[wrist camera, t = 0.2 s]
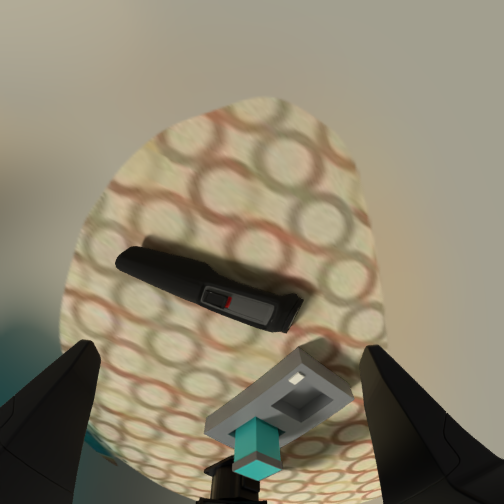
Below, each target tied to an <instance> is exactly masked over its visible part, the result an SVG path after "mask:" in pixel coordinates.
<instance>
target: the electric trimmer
mask: <svg viewBox="0 0 504 504" xmlns="http://www.w3.org/2000/svg"><path fill="white" fill-rule="evenodd" d="M115 265H116V268H117V269H119V270H120V271H122V272H125V273H127V274H129V275H131V276H133V277H135V278H138V279H140V280H142V281H144V282H146V283H149V284H151V285H153V286H155V287H158V288H160V289H162V290H164V291H167V292H169V293H171V294H173V295H176V296H178V297H180V298H183V299H185V300H188V301H190V302H193V303H196V304H198V305H200V306H202V307H204V308H207V309H209V310H211V311H214V312H216V313H219V314H221V315H224V316H226V317H229V318H232V319H234V320H237V321H239V322H242V323H245V324H247V325H250V326H253V327H256V328H258V329H262V330H265V331H269V332H272V333H273V332H281V331H282V332H283V333H287V332H288V330H289V329H290V327H291V324H292V322H293V320H294V318H295V316H296V314H297V313H298V311H299V309H300V307H301V305H302V303H303V301H304V299H301V298H299V299H298V295H297V294H294V293H292V294H288V295H283V296H281V295H276V294H272V293H268V292H265V291H262V290H259V289H256V288H253V287H250V286H247V285H244V284H241V283H238V282H235V281H233V280H231V279H228V278H226V277H224V276H221V275H219V274H218V273H217V272H215V271H214V270H213V269H212V268H211V267H210V266H209V265H208V264H206V263H203V262H200V261H196V260H193V259H189V258H184V257H180V256H176V255H172V254H168V253H164V252H159V251H155V250H151V249H147V248H143V247H138V246H132V247H130V248H128V249H127V250H125V251H124V252H122V253H121V254H120V255H119V256H118V257H117V259H116V262H115Z"/></svg>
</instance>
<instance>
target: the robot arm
mask: <svg viewBox="0 0 504 504" xmlns="http://www.w3.org/2000/svg"><path fill="white" fill-rule="evenodd" d="M100 364H101V357H100V354H99V353H98V351H97V349H96V347H95V345H94V343H93V342H92V341H91V340H84V339H82V340H80V341H79V342H77V343H76V344H75V345H74V346H72V347H71V348H70V349H69V350H68V351H66V352H65V353H64V354H63V355H62V356H60V357H59V358H58V359H57V360H56V361H54V362H53V363H52V364H51V365H49V366H48V367H47V368H46V369H45V370H44V371H42V372H41V373H40V374H39V375H38V376H36V377H35V378H34V379H33V380H32V381H30V383H28V384H27V385H26V386H25V387H23V388H22V389H21V390H20V391H19V392H18V393H17V394H15V396H13V397H12V398H11V399H10V400H8V401H7V402H6V403H5V404H4V405H2V406H1V407H0V504H72V502H73V495H74V494H73V493H74V488H75V482H76V476H77V471H78V466H79V460H80V455H81V450H82V446H83V442H84V437H85V433H86V429H87V425H88V421H89V417H90V413H91V409H92V405H93V401H94V397H95V392H96V386H97V380H98V374H99V369H100ZM360 375H361V383H362V391H363V399H364V407H365V412H366V417H367V421H368V426H369V430H370V435H371V439H372V444H373V449H374V454H375V459H376V464H377V469H378V475H379V480H380V486H381V492H382V498H383V504H504V459H501V458H499V457H497V456H496V455H495V454H493V453H492V452H491V451H490V450H489V449H487V448H486V447H485V446H484V445H482V444H481V443H480V442H479V441H477V440H476V439H475V438H473V436H471V435H470V434H469V433H468V432H467V431H466V430H464V429H463V428H462V427H461V426H460V425H459V424H458V423H457V422H456V421H455V420H454V419H453V418H452V417H451V416H450V415H449V414H448V413H446V411H445V410H444V409H443V408H442V407H441V406H440V405H439V404H438V403H437V402H436V401H435V400H434V399H433V398H432V397H431V396H430V395H429V394H428V393H427V392H426V391H425V390H424V389H423V388H422V387H421V386H420V385H419V384H418V383H417V382H416V381H415V380H414V379H413V378H412V377H411V376H410V375H409V374H408V373H407V372H406V371H405V370H404V369H403V368H402V367H401V366H400V365H399V364H398V363H397V362H396V361H395V360H394V359H393V358H392V357H391V356H390V355H389V354H388V353H387V352H386V351H385V350H384V349H383V348H382V347H381V346H379V345H368V346H366V347H365V349H364V352H363V355H362V358H361V360H360ZM233 463H234V457H229V458H227V459H225V460H223V461H221V462H219V463H217V464H215V465H213V466H211V467H209V468H207V469H205V470H204V473H205V474H207V475H209V476H212V486H211V496H210V499H207V498H203V497H200V499H199V501H196V504H267V500H263V501H259V497H258V492H260V481H256V480H254V479H251V478H248V477H246V476H243V475H240V474H238V473H235V472H233V471H232V464H233Z"/></svg>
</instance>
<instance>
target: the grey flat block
mask: <svg viewBox="0 0 504 504" xmlns="http://www.w3.org/2000/svg"><path fill="white" fill-rule="evenodd" d="M353 400H354V397H353V394H352V391H351V389H350V386H349V384H348V383H347V382H346V381H344V380H343V379H341V378H340V377H339V376H337V375H336V374H334V373H333V372H332V371H330V370H329V369H327V368H326V367H325V366H323V365H322V364H321V363H319V362H318V361H317V360H315V359H314V358H312V357H311V356H310V355H308V354H307V353H306V352H304V351H303V350H302V349H300V348H299V347H297V348H296V349H295V350H294V351H293V352H291V353H290V354H289V355H288V356H287V357H285V358H284V359H283V360H282V361H281V362H279V363H278V364H277V365H276V366H274V367H273V368H272V369H271V370H269V371H268V372H267V373H266V374H264V375H263V376H262V377H261V378H259V379H258V380H257V381H256V382H254V383H253V384H252V385H250V386H249V387H248V388H246V389H245V390H244V391H242V392H241V393H240V394H239V395H237V396H236V397H234V398H233V399H232V400H230V401H229V402H228V403H226V404H225V405H224V406H222V407H221V408H219V409H218V410H217V411H215V412H214V413H212V414H211V415H209V416H208V417H207V418H206V423H205V430H204V434H205V435H207V436H209V437H211V438H213V439H215V440H217V441H219V442H221V443H223V444H225V445H227V446H229V447H231V448H233V449H235V433H236V429H237V428H238V427H240V426H241V425H243V424H245V423H246V422H248V421H249V420H251V419H252V418H254V417H255V416H256V417H258V418H260V419H262V420H264V421H265V422H267V423H269V424H271V425H273V426H275V427H277V428H278V435H279V447H280V448H281V447H283V446H285V445H286V444H288V443H290V442H291V441H293V440H295V439H296V438H298V437H300V436H301V435H303V434H305V433H306V432H308V431H309V430H311V429H312V428H314V427H316V426H317V425H319V424H320V423H322V422H323V421H325V420H326V419H328V418H329V417H331V416H332V415H333V414H335V413H336V412H338V411H339V410H341V409H342V408H343V407H345V406H346V405H347V404H349V403H350V402H352V401H353Z"/></svg>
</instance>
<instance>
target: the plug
mask: <svg viewBox="0 0 504 504" xmlns="http://www.w3.org/2000/svg"><path fill="white" fill-rule="evenodd" d="M281 470H283V464H282V461H281V458H280V447H279V435H278V428H277V427H275V426H273V425H271V424H269V423H267V422H265V421H264V420H262V419H260V418H258V417H256V416H255V417H254V418H252V419H251V420H249V421H248V422H246V423H245V424H243V425H241V426H240V427H238V428H237V429H236V433H235V453H234V463H233V464H232V471H233V472H235V473H238V474H240V475H243V476H246V477H248V478H251V479H254V480H256V481H260V480H262V479H264V478H267V477H269V476H271V475H273V474H275V473H277V472H279V471H281Z"/></svg>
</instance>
